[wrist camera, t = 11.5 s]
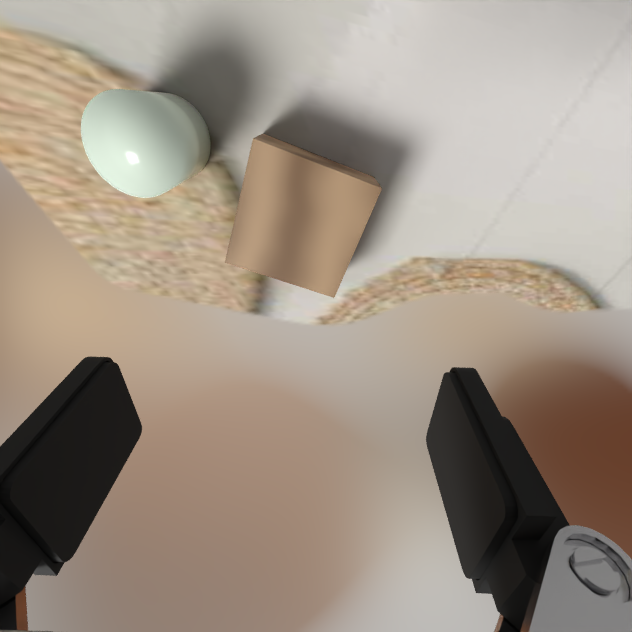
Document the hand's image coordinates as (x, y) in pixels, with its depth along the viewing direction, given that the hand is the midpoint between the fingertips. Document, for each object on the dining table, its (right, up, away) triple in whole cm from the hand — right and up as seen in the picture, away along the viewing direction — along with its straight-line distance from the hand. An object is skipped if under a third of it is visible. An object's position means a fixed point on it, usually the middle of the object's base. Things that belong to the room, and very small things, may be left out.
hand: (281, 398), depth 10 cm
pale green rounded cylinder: (-11, +17, +18) cm, 27 cm away
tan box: (0, +12, +22) cm, 25 cm away
